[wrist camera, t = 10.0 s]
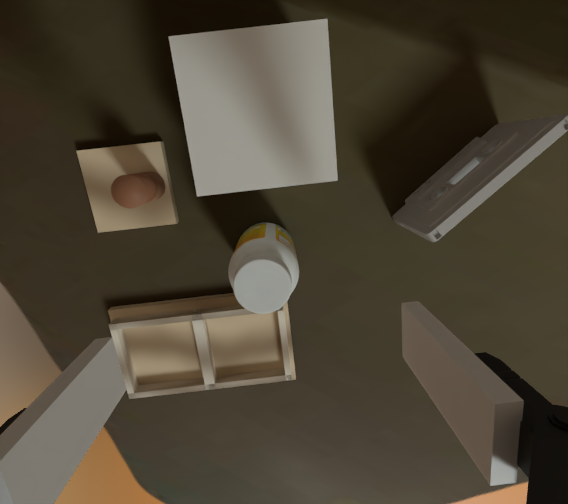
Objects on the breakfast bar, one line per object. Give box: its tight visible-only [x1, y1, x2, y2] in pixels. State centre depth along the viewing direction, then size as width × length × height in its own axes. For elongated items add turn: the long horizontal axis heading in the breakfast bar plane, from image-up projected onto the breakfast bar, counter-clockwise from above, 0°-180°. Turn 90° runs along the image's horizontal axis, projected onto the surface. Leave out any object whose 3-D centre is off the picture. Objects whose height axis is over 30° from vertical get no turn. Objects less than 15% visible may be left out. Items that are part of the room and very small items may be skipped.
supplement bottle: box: [228, 223, 299, 314], centre depth 27 cm, size 5×5×10 cm
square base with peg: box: [77, 141, 179, 233], centre depth 27 cm, size 7×7×6 cm
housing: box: [168, 19, 338, 197], centre depth 25 cm, size 9×9×9 cm
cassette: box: [392, 114, 568, 242], centre depth 27 cm, size 12×2×8 cm, turn 133°
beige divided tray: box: [108, 293, 296, 399], centre depth 33 cm, size 10×17×2 cm, turn 96°
